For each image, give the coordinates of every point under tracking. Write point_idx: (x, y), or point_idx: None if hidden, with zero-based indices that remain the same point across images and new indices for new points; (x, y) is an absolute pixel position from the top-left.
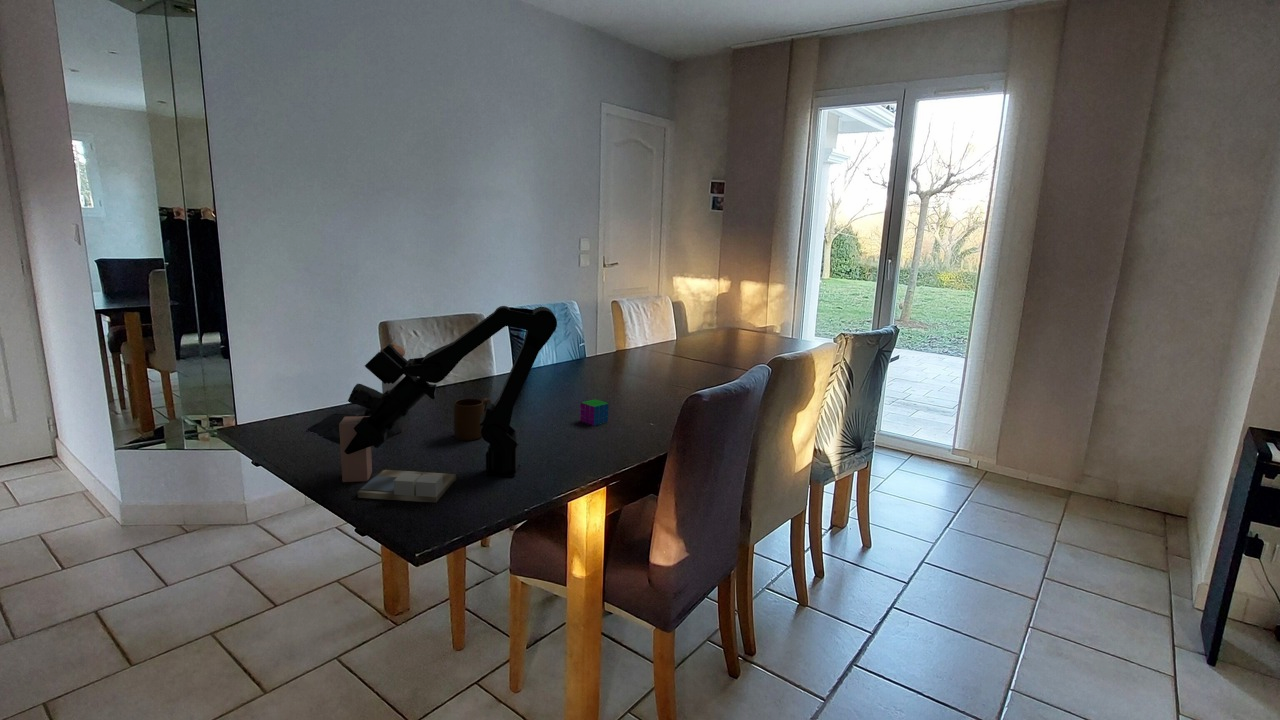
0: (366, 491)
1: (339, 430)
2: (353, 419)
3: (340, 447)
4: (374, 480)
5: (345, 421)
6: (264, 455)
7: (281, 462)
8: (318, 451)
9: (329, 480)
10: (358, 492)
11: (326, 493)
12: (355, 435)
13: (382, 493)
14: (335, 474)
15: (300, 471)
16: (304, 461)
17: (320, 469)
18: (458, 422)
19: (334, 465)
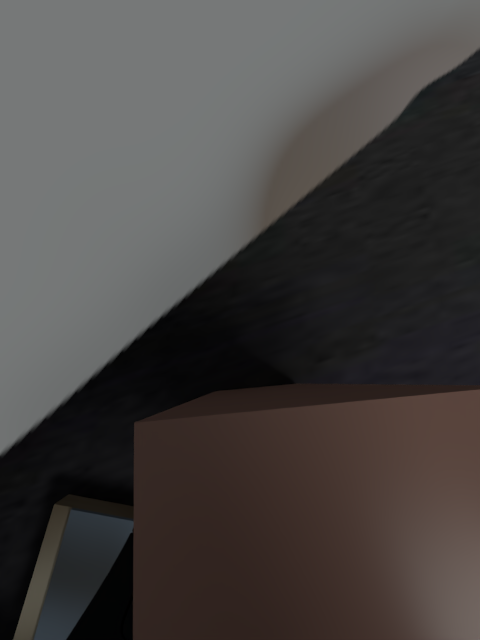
0: (55, 541)
1: (167, 410)
2: (394, 614)
3: (197, 398)
4: None
5: (272, 487)
6: (412, 113)
7: (367, 167)
8: (470, 230)
9: (231, 343)
10: (54, 507)
11: (123, 370)
12: (67, 638)
13: (18, 627)
14: (282, 345)
15: (303, 236)
16: (382, 220)
17: (322, 285)
18: None
19: (360, 316)
